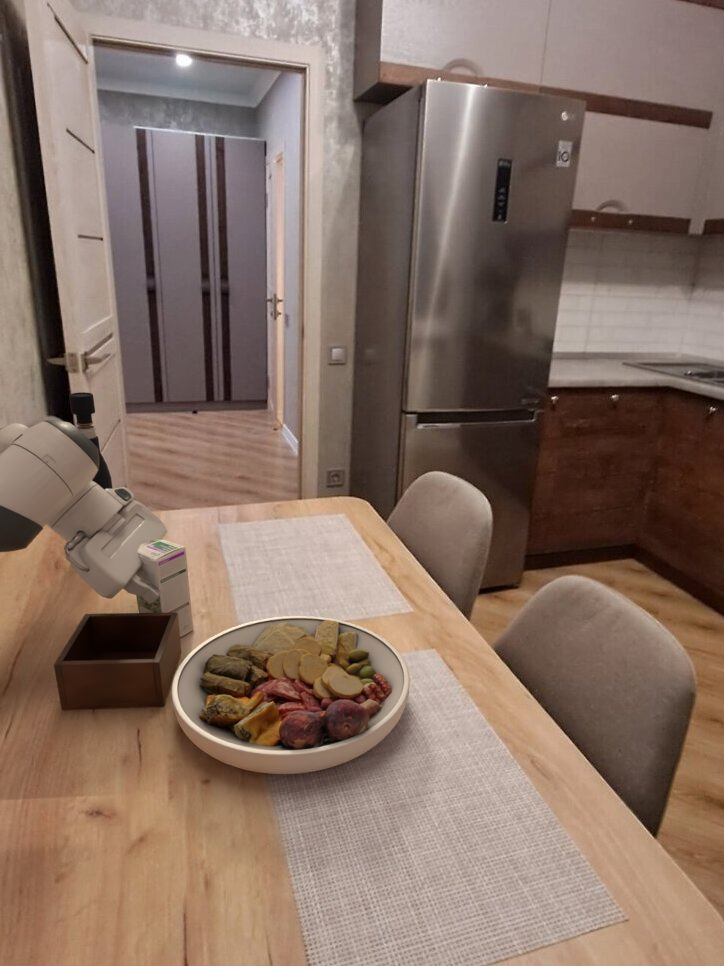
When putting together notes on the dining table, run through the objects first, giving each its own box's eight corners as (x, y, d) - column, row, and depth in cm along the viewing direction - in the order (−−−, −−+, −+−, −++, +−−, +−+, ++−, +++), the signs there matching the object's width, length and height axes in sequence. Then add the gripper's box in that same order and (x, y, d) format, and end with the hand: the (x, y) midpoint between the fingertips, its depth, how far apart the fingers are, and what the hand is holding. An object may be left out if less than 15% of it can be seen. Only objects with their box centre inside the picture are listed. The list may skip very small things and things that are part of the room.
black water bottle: (89, 559, 125) (66, 399, 113) (79, 547, 129) (56, 392, 117) (124, 551, 128) (105, 396, 117) (113, 540, 133) (94, 389, 121)
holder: (61, 709, 85) (53, 664, 82) (91, 654, 96) (85, 613, 94) (164, 706, 86) (159, 662, 84) (181, 652, 98) (177, 612, 95)
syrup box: (195, 630, 104) (187, 545, 98) (164, 647, 99) (155, 558, 93) (169, 619, 106) (161, 535, 101) (139, 635, 102) (128, 548, 96)
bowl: (138, 690, 89) (132, 639, 86) (324, 624, 107) (325, 580, 104) (245, 833, 68) (242, 773, 65) (454, 721, 87) (460, 670, 83)
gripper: (73, 535, 85) (157, 605, 89) (130, 483, 104) (198, 543, 108) (43, 565, 87) (127, 632, 91) (105, 509, 105) (172, 567, 110)
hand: (166, 583), depth 99 cm, fingers closed on syrup box, 7 cm apart
